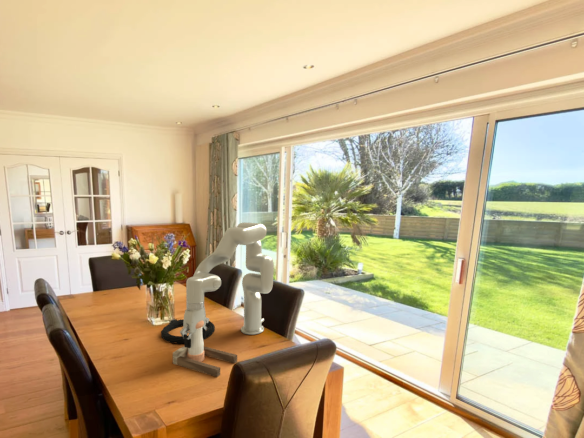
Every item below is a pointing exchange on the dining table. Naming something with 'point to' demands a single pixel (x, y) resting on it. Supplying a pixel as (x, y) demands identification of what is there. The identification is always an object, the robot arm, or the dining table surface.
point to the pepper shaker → (197, 344)
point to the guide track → (183, 361)
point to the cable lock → (180, 339)
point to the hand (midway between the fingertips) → (195, 342)
